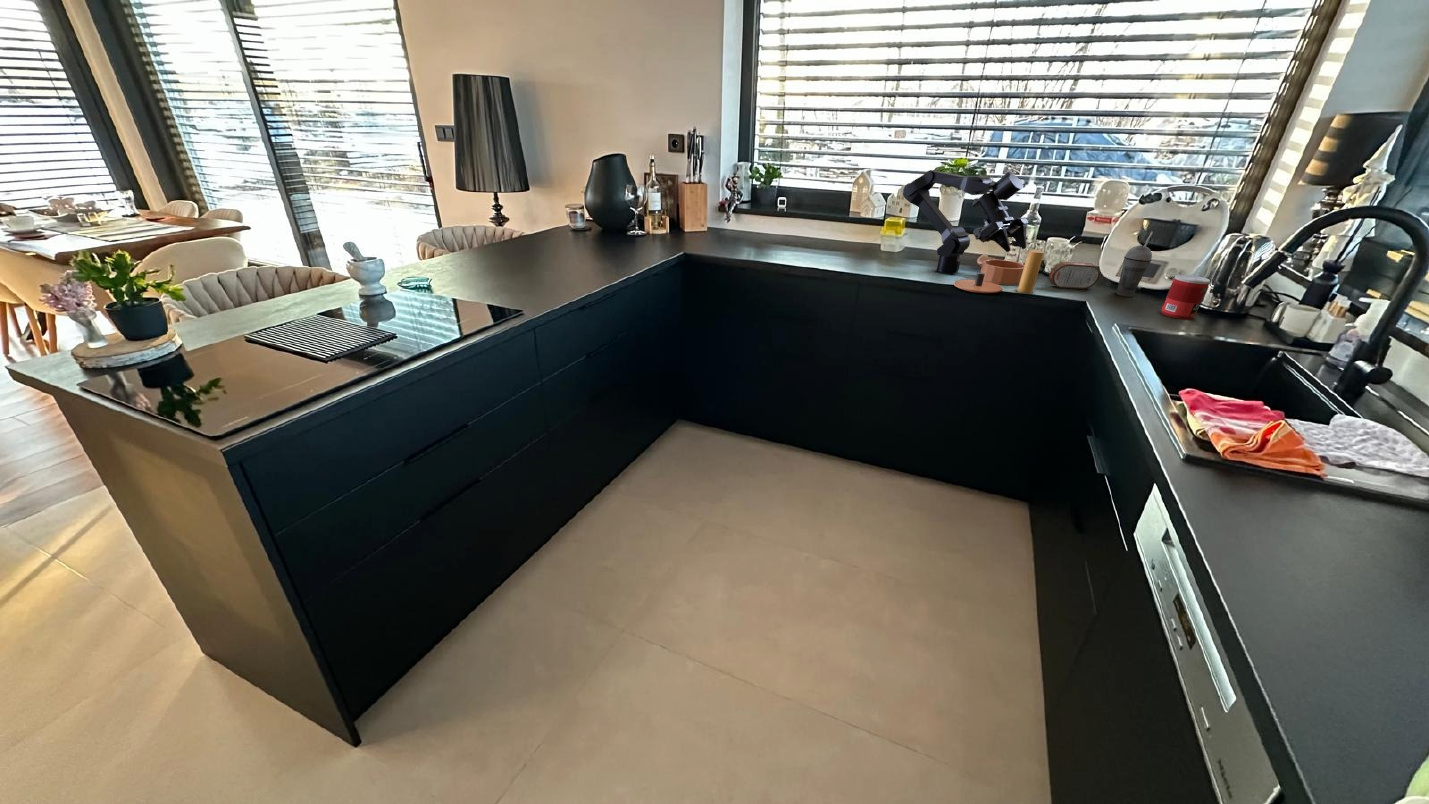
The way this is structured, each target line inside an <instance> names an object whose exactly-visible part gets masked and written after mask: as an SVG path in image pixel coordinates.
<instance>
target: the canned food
mask: <svg viewBox="0 0 1429 804" xmlns="http://www.w3.org/2000/svg"><path fill="white" fill-rule="evenodd" d="M1210 283H1211V280H1210V279H1208V278H1207V277H1203V276H1199V275H1198V276H1197V275H1192V274H1191V275H1190V274H1175V275H1174V278H1173V280H1172V281H1171V285H1170V287H1169V290H1168V292H1167V294H1166V298H1165V299H1164V302H1163V305H1162V307H1161V314H1162V315H1163V316H1166V317H1169V318H1173V319H1178V320H1179V319H1180V320H1193V319H1194V318H1195V317H1196V315H1197V313H1198V310H1199V308H1200V307H1201V305H1202V301H1203V299H1204V298H1205V295H1206V293H1207V290H1208V288H1209V285H1210Z"/></svg>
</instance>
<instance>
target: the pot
mask: <svg viewBox="0 0 1429 804" xmlns="http://www.w3.org/2000/svg"><path fill="white" fill-rule="evenodd" d="M995 259H996V260H984V261H983V262H982V267H980V271H979V272H981V273H985V276H984V280H983V281H986V282H991V283H994V284H997V285H1005V286H1016V285H1017V286H1019V283H1020V280H1021V276H1022V272H1023V269H1024V265H1025V263H1021V262H1018V261H1014V260H1009V259H997V258H995Z"/></svg>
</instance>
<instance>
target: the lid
mask: <svg viewBox="0 0 1429 804" xmlns="http://www.w3.org/2000/svg"><path fill="white" fill-rule="evenodd" d="M984 276H985V273H981V272H980V271H979V272H976V275H975V279H958V280H955V281H954V282H953V285H954V287H956V288H958V289H961V290H964V291H966V292H971V293H976V294H997V293H1001V292H1002V291H1003V287H1002V286H1001V285H1000V284H995V283H991V282H986V281H984Z"/></svg>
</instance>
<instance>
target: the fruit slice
mask: <svg viewBox="0 0 1429 804" xmlns="http://www.w3.org/2000/svg"><path fill="white" fill-rule="evenodd" d="M996 259H997V258H995V257H993V256H990V255H988V254H987V253H982V254H981V255H980V256H979V257H978V258H977V259H976V263H977V265H978V266H979V267H980V268H981V267H982V262H983V261H984V260H996Z"/></svg>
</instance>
